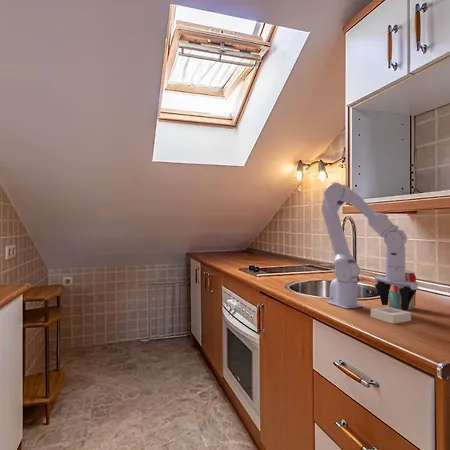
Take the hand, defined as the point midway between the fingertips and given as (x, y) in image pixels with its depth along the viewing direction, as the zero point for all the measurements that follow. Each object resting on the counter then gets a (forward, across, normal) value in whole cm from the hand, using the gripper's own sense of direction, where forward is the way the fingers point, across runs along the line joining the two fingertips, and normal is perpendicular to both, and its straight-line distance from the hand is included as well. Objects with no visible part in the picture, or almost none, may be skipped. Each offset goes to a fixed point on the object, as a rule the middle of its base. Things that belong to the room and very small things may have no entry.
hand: (394, 307), depth 111 cm
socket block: (+2, +4, -7) cm, 8 cm away
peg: (+2, 0, 0) cm, 2 cm away
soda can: (+2, -4, +10) cm, 11 cm away
